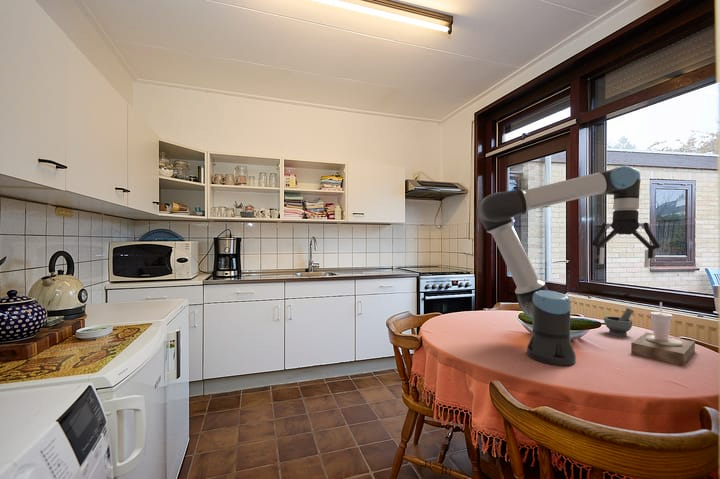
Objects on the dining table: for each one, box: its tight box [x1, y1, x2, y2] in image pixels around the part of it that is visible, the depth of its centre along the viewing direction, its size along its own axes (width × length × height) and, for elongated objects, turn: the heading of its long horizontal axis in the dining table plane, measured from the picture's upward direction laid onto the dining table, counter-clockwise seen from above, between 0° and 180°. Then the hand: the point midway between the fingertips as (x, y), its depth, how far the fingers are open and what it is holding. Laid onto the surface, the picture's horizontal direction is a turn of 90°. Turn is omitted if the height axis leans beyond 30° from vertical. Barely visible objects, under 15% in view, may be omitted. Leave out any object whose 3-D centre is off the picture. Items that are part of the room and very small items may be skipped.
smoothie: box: [649, 301, 674, 341], centre depth 120 cm, size 6×6×14 cm
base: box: [630, 332, 696, 366], centre depth 120 cm, size 14×22×5 cm, turn 126°
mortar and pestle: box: [603, 307, 634, 337], centre depth 142 cm, size 11×9×12 cm
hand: (623, 265), depth 120 cm, fingers open, 13 cm apart
